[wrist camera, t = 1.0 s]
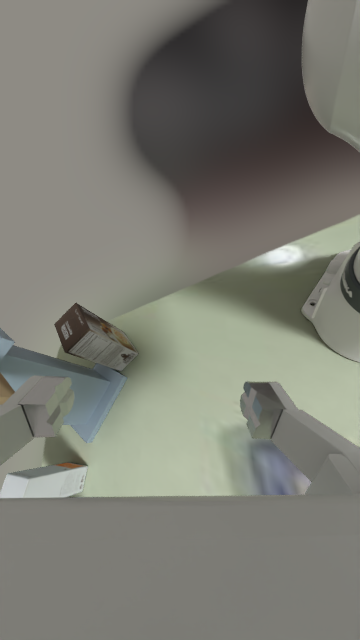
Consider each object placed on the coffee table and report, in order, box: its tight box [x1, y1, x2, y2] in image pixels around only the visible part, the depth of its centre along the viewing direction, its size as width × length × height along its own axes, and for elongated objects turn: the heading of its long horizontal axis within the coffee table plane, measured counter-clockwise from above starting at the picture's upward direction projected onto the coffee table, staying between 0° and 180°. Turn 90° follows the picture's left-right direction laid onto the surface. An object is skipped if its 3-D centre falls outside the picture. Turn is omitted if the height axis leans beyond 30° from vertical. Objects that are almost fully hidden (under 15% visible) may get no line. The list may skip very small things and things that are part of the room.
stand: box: [0, 328, 127, 443], centre depth 35 cm, size 15×10×26 cm, turn 151°
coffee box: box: [55, 303, 138, 371], centre depth 43 cm, size 9×6×16 cm
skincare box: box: [0, 462, 88, 498], centre depth 35 cm, size 6×4×12 cm
